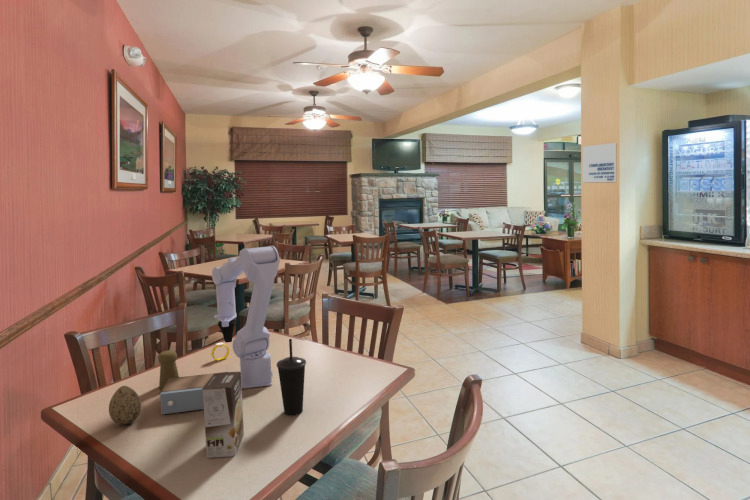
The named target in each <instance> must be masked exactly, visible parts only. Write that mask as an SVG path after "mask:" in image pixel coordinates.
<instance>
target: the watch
mask: <svg viewBox="0 0 750 500" xmlns="http://www.w3.org/2000/svg"><path fill="white" fill-rule="evenodd" d="M223 346H224V347H225V349H226V353H225V355H224V356H222V357H220V358H216V356H215V351H216V349H217V348H220V347H223ZM229 355H230V348H229V347H228V345H227V344H225V342H217V343H215V345H214V346H213V348H212V349H211V356H212V359H214V360H215V361H218V362H219V361H222V360H226V359H227V358H228V357H229Z"/></svg>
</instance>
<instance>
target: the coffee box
mask: <svg viewBox="0 0 750 500" xmlns="http://www.w3.org/2000/svg"><path fill="white" fill-rule="evenodd" d="M213 373H214V375H213V376H212V377H211V378H210V380H209V381H208V382H207V383H206V385H205V386H204V387H203V388H202V391H203V406H204V409H203V416H204V417H203V418H204V433H205V434H204V436H205V449H206V451H205V452H206V458H207V459H211V458H213V459H214V458H228V457H235V456H236V454H237V451H238V449H239V447H240V445H241V442H242V440H243V438H244V435H245V427H244V423H245V422H244V410H243V408H244V407H243V392H242V388H241V371H223V373H221V372H213Z"/></svg>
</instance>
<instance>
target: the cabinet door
mask: <svg viewBox="0 0 750 500" xmlns="http://www.w3.org/2000/svg"><path fill="white" fill-rule="evenodd" d="M202 388H203V387H202ZM202 388H194V389H185V390H177V391H168V392H162V391H161V392H160V394H159V396H160V397H159V398H160V408H161V409H160V410H161V415H166V414H167V415H168V414H169V415H170V414H174V413H183V412H189V411H190V412H191V411H192V412H193V411H199V410H204V406H203V391H202Z"/></svg>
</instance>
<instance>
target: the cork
mask: <svg viewBox="0 0 750 500" xmlns="http://www.w3.org/2000/svg"><path fill="white" fill-rule="evenodd" d="M177 359H178V354H177V352H176V351H175V350H165V351H161V352H160V353H159V354H158V357H157V361H158V362H159V364H160V368H159V385H158V388H159V389H158V390H161V391H162V390H163V388H164V386H165V385H166V383H167V381H168V379H169V378H176V377H180V374H179V372H178V371H179V370H178V366H177V362H176V361H177Z"/></svg>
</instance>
